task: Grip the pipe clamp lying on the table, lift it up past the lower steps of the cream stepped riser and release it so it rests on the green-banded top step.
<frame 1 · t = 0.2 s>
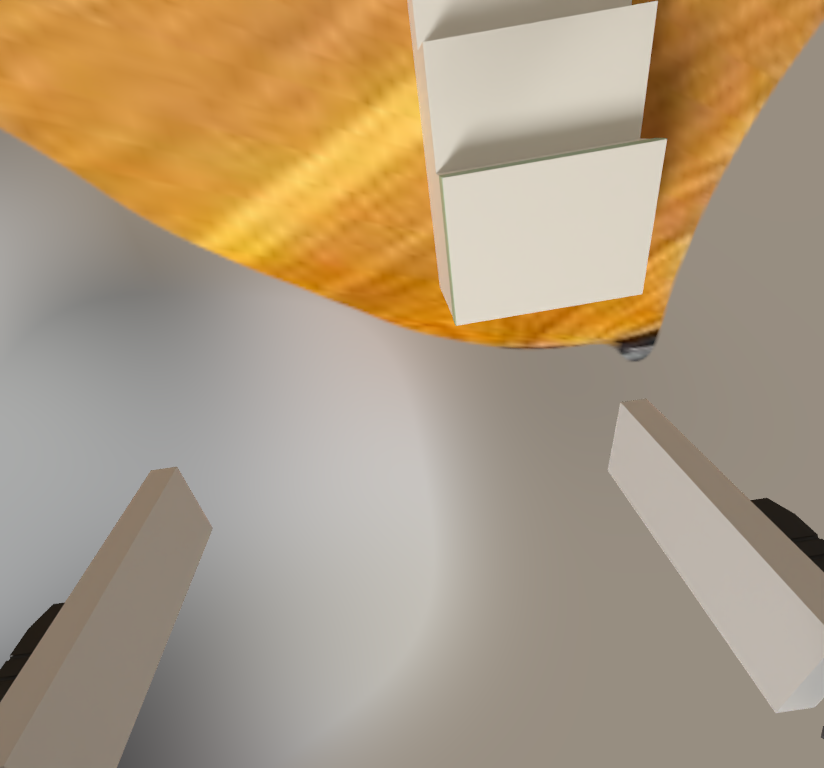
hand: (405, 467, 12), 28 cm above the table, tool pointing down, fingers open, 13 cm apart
stepped riser: (511, 122, 32), on the table
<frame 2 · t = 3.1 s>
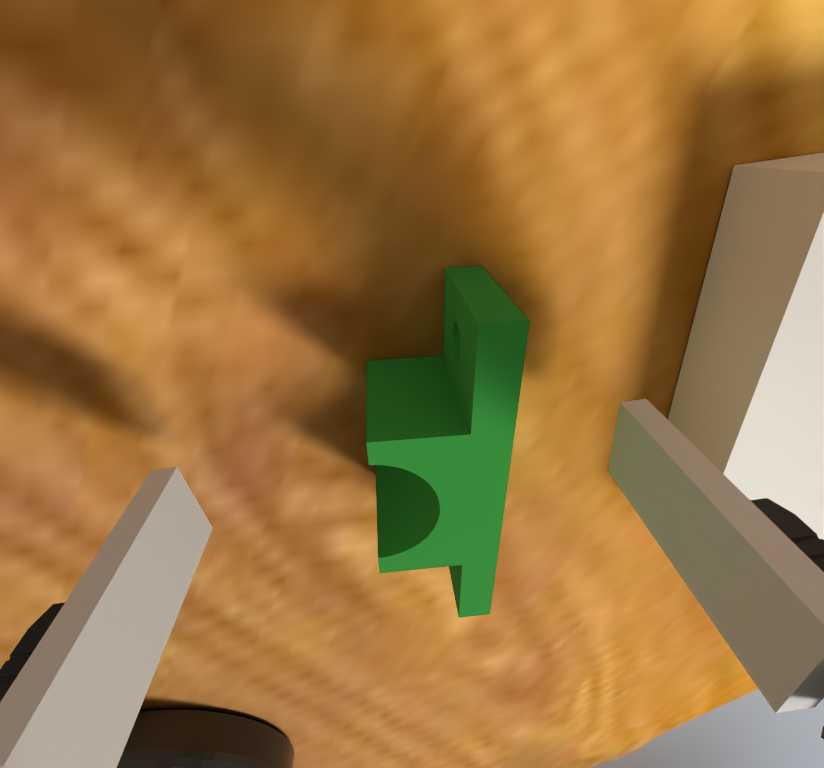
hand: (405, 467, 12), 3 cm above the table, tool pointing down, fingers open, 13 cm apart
pipe clamp: (424, 411, 15), on the table
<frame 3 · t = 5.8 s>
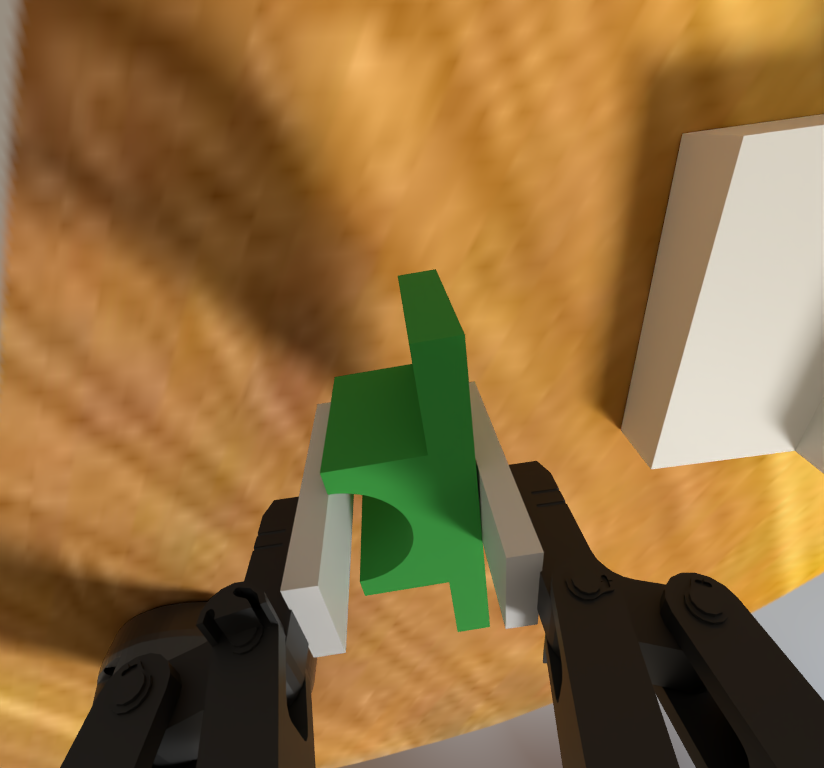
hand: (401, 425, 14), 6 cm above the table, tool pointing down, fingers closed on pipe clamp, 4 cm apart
pipe clamp: (405, 422, 15), point 5 cm above the table, touching gripper
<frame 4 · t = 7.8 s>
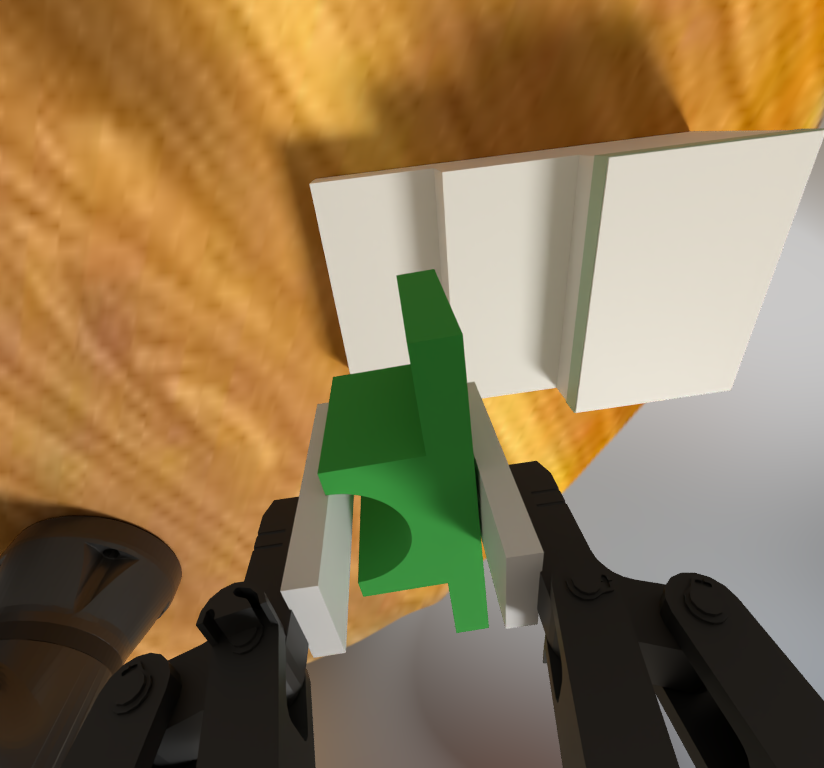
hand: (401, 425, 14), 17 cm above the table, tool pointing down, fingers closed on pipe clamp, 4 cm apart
pipe clamp: (404, 423, 15), point 17 cm above the table, touching gripper
stepped riser: (503, 265, 29), on the table
when the fingers open (10 cm above the table, at t = 10.3 s): pipe clamp stays where it is, resting on stepped riser.
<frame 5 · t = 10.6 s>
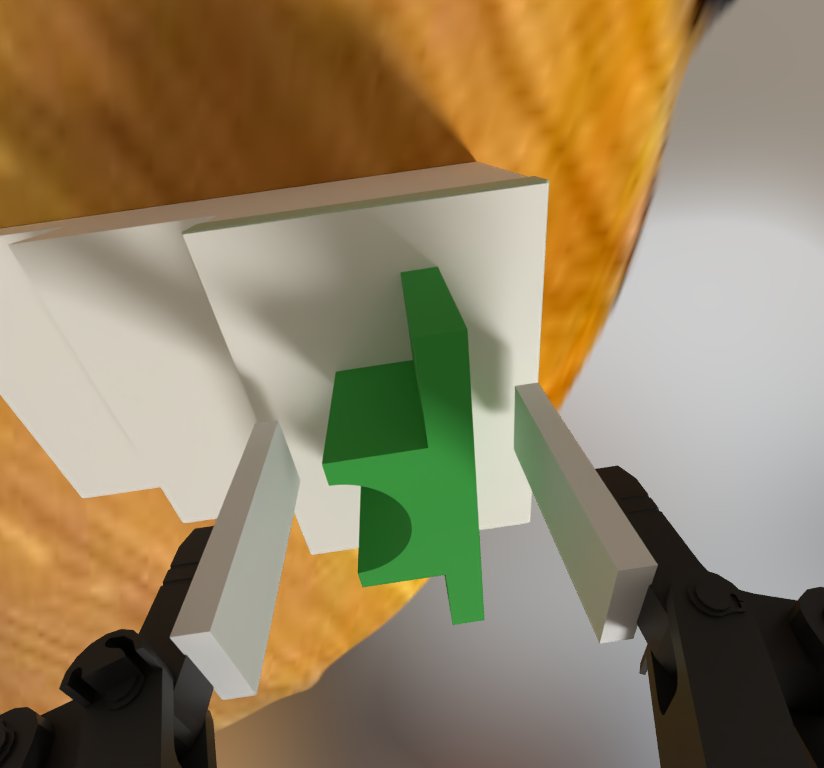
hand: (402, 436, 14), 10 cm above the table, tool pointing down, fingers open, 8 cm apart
pipe clamp: (404, 418, 15), point 9 cm above the table, touching stepped riser
stepped riser: (264, 336, 22), on the table
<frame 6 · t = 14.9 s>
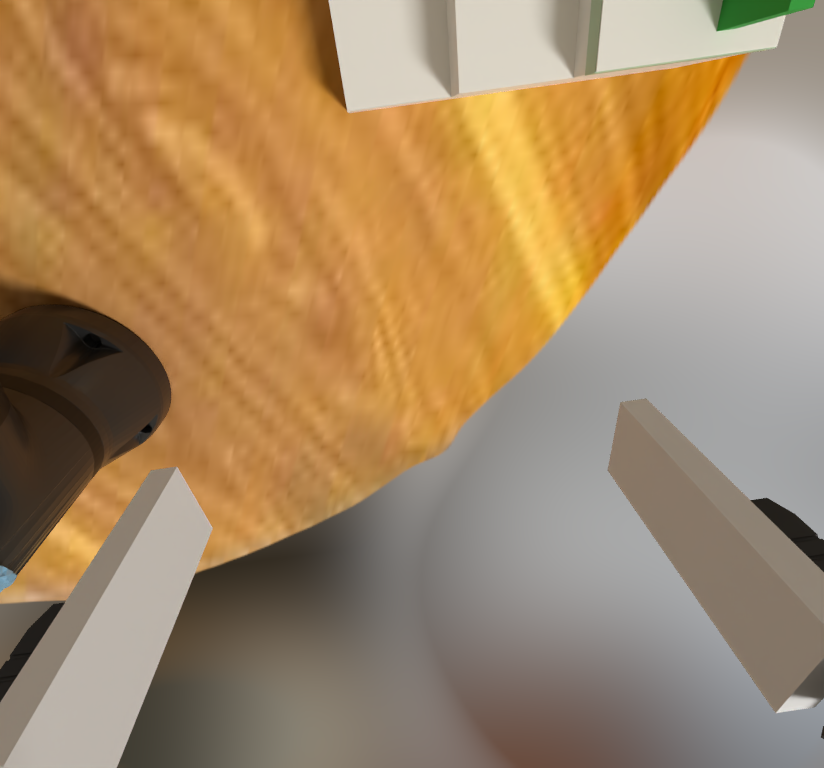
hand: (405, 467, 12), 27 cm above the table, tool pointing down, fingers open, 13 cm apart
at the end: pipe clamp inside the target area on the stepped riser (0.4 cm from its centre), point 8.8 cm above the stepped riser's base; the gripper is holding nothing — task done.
